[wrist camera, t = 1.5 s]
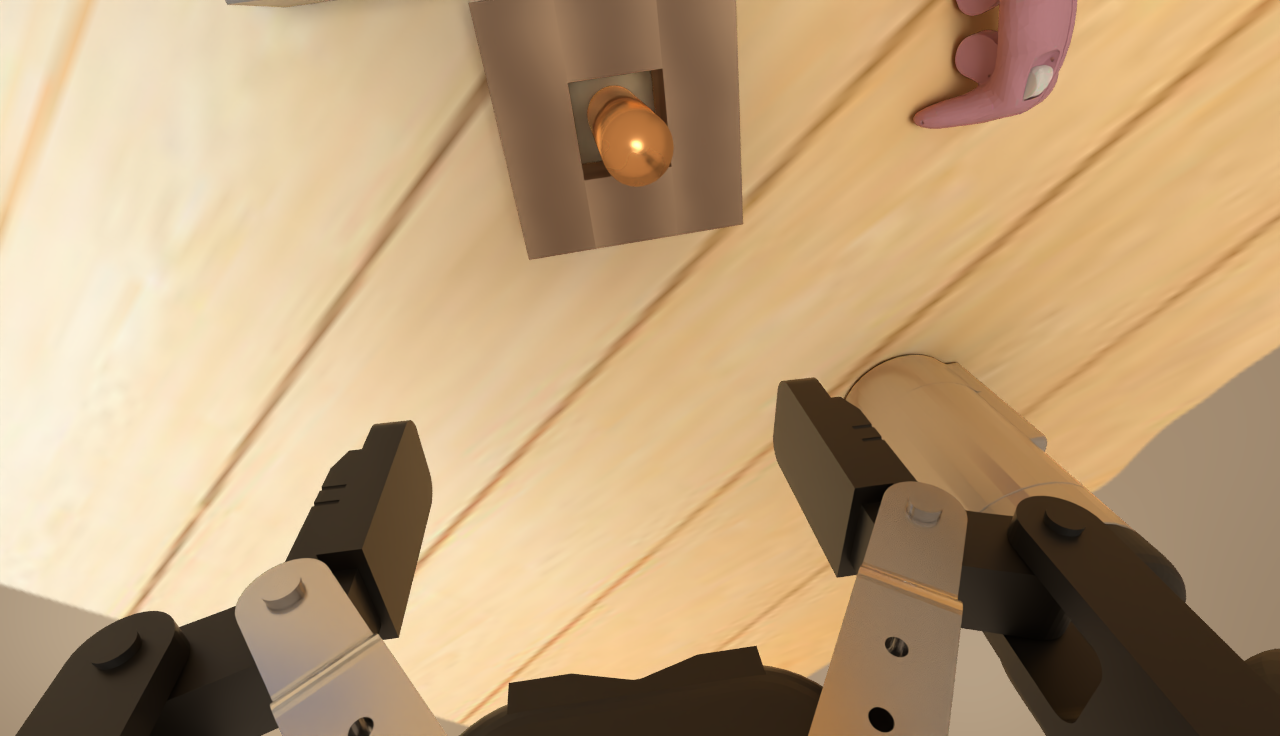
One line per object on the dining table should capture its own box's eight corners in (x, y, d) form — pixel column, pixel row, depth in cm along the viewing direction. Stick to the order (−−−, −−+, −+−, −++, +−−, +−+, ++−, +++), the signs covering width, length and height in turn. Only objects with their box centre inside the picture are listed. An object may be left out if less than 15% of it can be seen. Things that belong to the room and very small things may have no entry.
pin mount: (713, -30, 30) (734, -36, 26) (724, 204, 36) (742, 224, 33) (478, 4, 29) (468, 2, 26) (530, 236, 35) (529, 259, 32)
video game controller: (952, 109, 36) (1078, 106, 31) (906, 135, 35) (1031, 137, 29) (953, -83, 31) (1105, -127, 26) (899, -62, 30) (1049, -105, 24)
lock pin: (637, 81, 32) (669, 104, 23) (644, 139, 33) (676, 180, 25) (582, 89, 32) (595, 115, 23) (592, 147, 33) (607, 191, 25)
